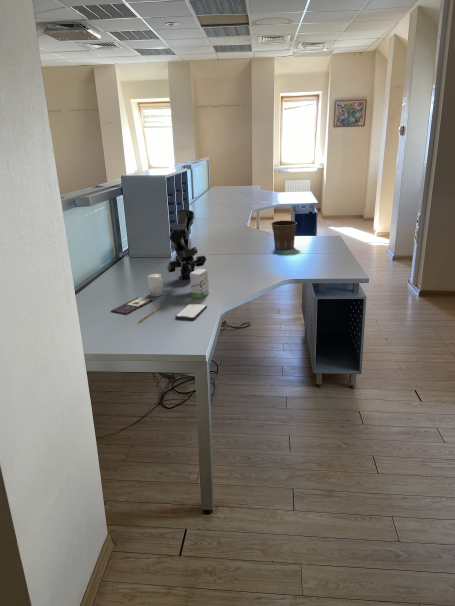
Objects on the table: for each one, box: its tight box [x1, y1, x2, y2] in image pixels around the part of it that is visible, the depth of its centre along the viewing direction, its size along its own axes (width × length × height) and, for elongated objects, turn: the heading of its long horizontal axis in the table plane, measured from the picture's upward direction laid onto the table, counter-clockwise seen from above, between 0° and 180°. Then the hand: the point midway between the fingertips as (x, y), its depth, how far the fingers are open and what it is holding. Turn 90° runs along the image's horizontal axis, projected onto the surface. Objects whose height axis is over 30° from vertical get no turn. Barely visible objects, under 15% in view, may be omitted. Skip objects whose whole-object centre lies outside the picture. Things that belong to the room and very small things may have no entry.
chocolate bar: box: [110, 296, 154, 316], centre depth 199 cm, size 9×1×18 cm
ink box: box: [189, 268, 210, 300], centre depth 206 cm, size 8×5×12 cm, turn 154°
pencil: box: [137, 306, 161, 324], centre depth 188 cm, size 1×1×18 cm
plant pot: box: [270, 220, 298, 251], centre depth 284 cm, size 16×16×16 cm
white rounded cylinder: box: [147, 273, 164, 297], centre depth 212 cm, size 6×6×9 cm
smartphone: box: [174, 303, 208, 321], centre depth 188 cm, size 9×2×16 cm
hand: (193, 278), depth 211 cm, fingers closed
